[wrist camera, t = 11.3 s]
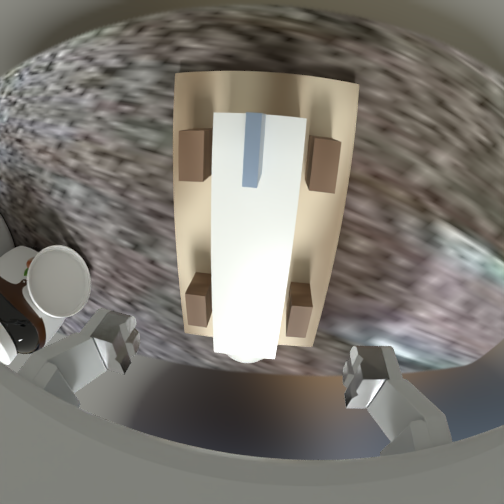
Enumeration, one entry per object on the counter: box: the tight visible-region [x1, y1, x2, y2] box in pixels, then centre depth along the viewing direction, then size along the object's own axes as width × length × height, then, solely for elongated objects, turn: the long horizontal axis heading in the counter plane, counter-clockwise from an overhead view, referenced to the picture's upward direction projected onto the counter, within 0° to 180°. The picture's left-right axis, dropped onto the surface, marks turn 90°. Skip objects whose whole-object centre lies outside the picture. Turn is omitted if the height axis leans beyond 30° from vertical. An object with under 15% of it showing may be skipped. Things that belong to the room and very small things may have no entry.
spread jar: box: [0, 245, 91, 365], centre depth 20 cm, size 12×11×12 cm
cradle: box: [173, 71, 359, 347], centre depth 19 cm, size 12×22×4 cm, turn 176°
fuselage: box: [211, 112, 307, 363], centre depth 17 cm, size 4×18×8 cm, turn 176°
